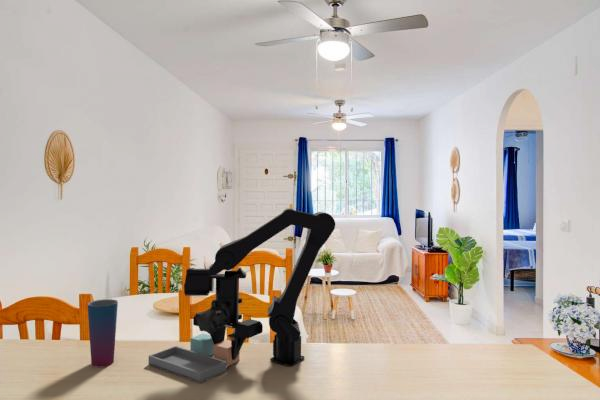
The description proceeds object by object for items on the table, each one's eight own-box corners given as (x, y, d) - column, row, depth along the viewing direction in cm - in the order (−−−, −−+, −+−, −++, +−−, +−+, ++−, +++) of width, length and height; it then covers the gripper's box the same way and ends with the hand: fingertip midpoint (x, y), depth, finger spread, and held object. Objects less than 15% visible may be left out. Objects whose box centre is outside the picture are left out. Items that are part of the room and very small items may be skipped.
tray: (226, 370, 105) (226, 361, 105) (200, 383, 98) (200, 373, 98) (175, 354, 115) (175, 345, 115) (148, 364, 108) (148, 355, 108)
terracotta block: (239, 360, 111) (239, 343, 111) (227, 366, 107) (227, 348, 107) (226, 356, 114) (226, 339, 114) (213, 362, 110) (213, 344, 110)
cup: (122, 358, 112) (122, 299, 111) (108, 369, 105) (108, 306, 104) (97, 357, 112) (97, 298, 112) (81, 367, 105) (81, 305, 105)
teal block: (215, 353, 116) (215, 336, 116) (202, 358, 112) (202, 341, 112) (203, 350, 118) (203, 333, 118) (190, 355, 115) (190, 338, 115)
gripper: (176, 296, 109) (176, 359, 109) (233, 308, 98) (232, 377, 99) (209, 288, 118) (209, 346, 118) (264, 298, 108) (263, 361, 108)
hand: (226, 357), depth 111 cm, fingers open, 5 cm apart
